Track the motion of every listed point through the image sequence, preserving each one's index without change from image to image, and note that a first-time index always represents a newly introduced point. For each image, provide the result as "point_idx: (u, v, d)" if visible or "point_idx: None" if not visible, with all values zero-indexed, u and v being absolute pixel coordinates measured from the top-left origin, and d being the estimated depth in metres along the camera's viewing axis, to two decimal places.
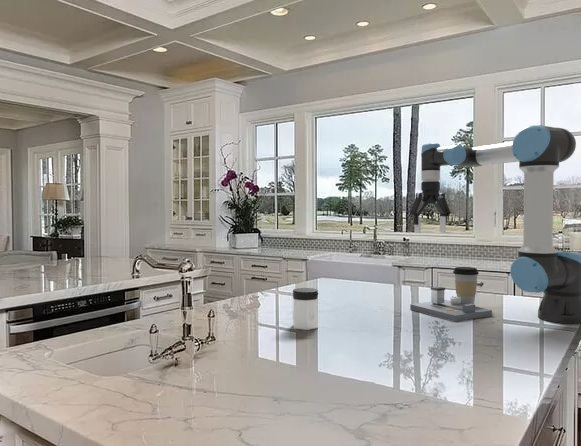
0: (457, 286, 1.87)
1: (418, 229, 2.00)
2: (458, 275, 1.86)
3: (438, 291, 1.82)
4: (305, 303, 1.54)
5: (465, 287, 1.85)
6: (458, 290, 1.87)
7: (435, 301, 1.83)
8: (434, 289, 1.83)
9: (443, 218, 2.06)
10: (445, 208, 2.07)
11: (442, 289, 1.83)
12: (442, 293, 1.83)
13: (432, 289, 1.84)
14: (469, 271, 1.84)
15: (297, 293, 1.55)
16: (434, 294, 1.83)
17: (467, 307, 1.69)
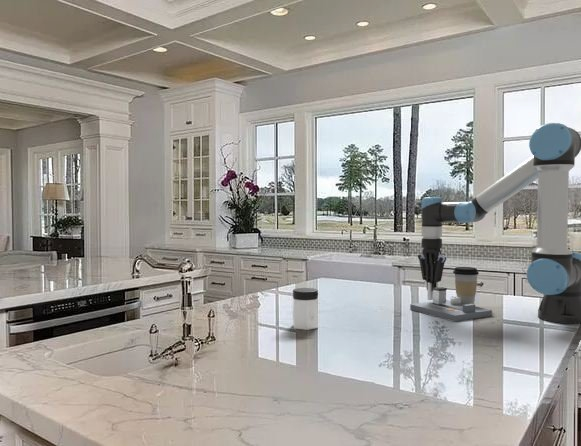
0: (457, 286, 1.87)
1: None
2: (458, 275, 1.86)
3: (440, 291, 1.81)
4: (305, 303, 1.54)
5: (465, 287, 1.85)
6: (458, 290, 1.87)
7: (437, 301, 1.82)
8: (436, 289, 1.82)
9: None
10: None
11: (444, 289, 1.82)
12: (444, 293, 1.82)
13: (434, 289, 1.83)
14: (469, 271, 1.84)
15: (297, 293, 1.55)
16: (436, 294, 1.82)
17: (467, 307, 1.69)
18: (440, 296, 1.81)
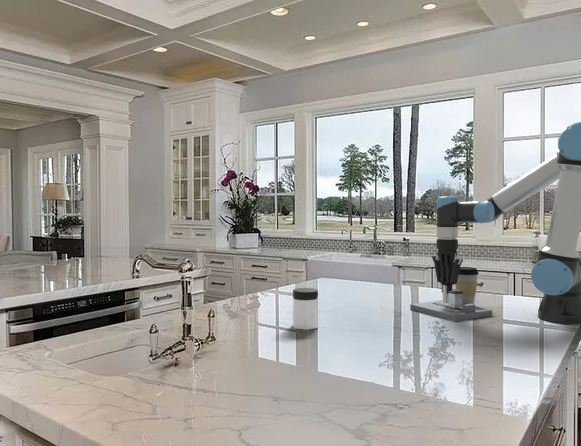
0: (457, 286, 1.87)
1: None
2: None
3: (456, 295, 1.74)
4: (305, 303, 1.54)
5: (465, 287, 1.85)
6: None
7: (453, 305, 1.75)
8: (451, 293, 1.75)
9: None
10: None
11: (460, 293, 1.75)
12: (460, 297, 1.75)
13: (449, 293, 1.76)
14: (469, 271, 1.84)
15: (297, 293, 1.55)
16: (451, 298, 1.75)
17: (467, 307, 1.69)
18: (456, 299, 1.75)
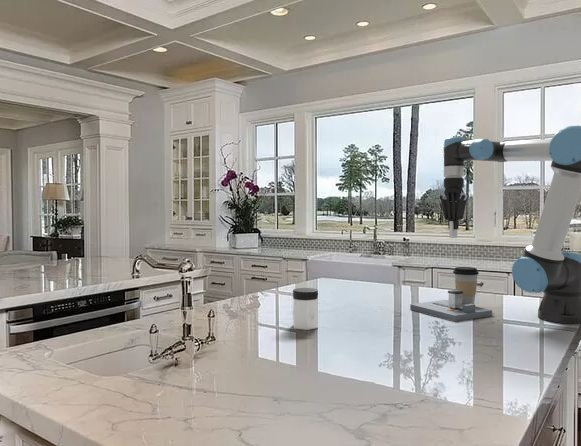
0: (457, 286, 1.87)
1: None
2: (458, 275, 1.86)
3: (456, 295, 1.74)
4: (305, 303, 1.54)
5: (465, 287, 1.85)
6: None
7: (453, 305, 1.75)
8: (451, 293, 1.75)
9: None
10: None
11: (460, 293, 1.75)
12: (460, 297, 1.75)
13: (449, 293, 1.76)
14: (469, 271, 1.84)
15: (297, 293, 1.55)
16: (451, 298, 1.75)
17: (467, 307, 1.69)
18: (456, 299, 1.75)
